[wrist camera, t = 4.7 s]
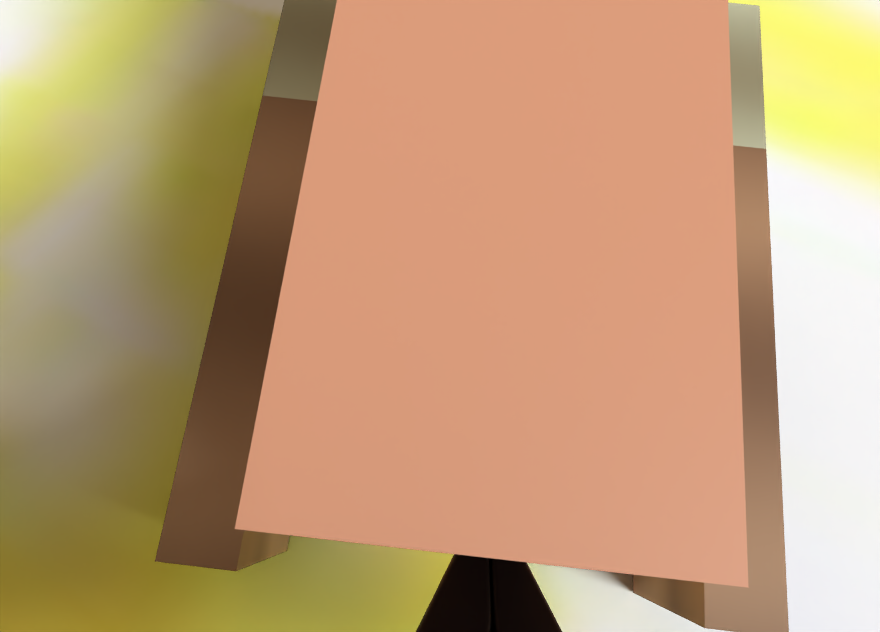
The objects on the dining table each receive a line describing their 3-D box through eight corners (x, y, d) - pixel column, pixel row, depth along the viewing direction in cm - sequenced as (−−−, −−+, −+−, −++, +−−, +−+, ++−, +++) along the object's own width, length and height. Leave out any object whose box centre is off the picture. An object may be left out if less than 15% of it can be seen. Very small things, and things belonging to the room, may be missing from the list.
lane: (694, 599, 15) (789, 638, 11) (226, 543, 15) (155, 561, 11) (691, 106, 18) (759, 5, 15) (322, 67, 19) (294, -42, 15)
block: (565, 533, 15) (748, 587, 6) (347, 508, 15) (235, 529, 6) (589, 13, 19) (715, -368, 11) (421, -4, 20) (413, -395, 11)
